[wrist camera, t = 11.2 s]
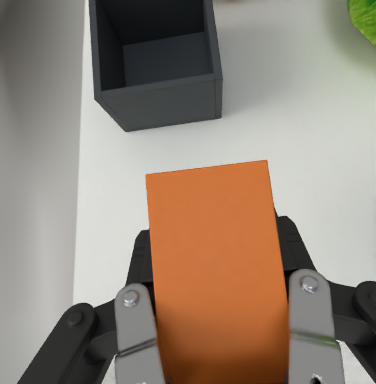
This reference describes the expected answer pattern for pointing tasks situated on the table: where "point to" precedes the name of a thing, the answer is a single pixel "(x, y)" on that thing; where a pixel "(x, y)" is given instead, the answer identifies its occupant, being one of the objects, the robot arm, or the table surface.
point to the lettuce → (364, 17)
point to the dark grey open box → (155, 61)
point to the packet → (218, 274)
